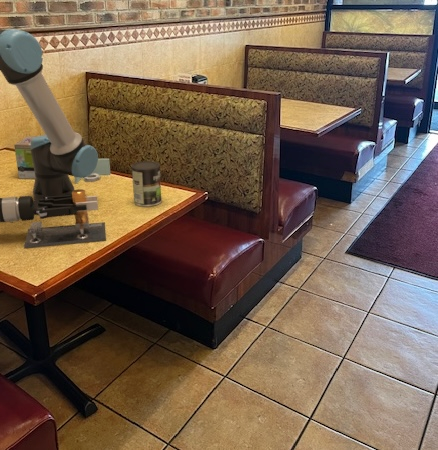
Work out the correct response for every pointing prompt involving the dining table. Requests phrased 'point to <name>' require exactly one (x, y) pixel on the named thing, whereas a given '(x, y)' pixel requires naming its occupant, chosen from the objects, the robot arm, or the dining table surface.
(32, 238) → the plate
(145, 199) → the coffee can
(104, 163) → the l-shaped corner panel
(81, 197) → the sliding jaw
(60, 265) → the dining table surface
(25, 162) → the tea box
